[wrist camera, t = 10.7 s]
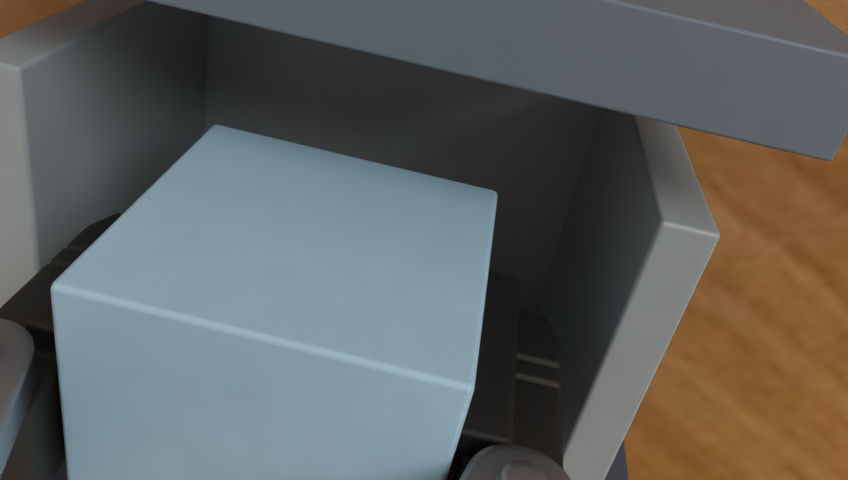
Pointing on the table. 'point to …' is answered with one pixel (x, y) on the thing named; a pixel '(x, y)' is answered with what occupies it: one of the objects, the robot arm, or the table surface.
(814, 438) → the table surface
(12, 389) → the robot arm
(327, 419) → the block
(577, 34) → the drawer
